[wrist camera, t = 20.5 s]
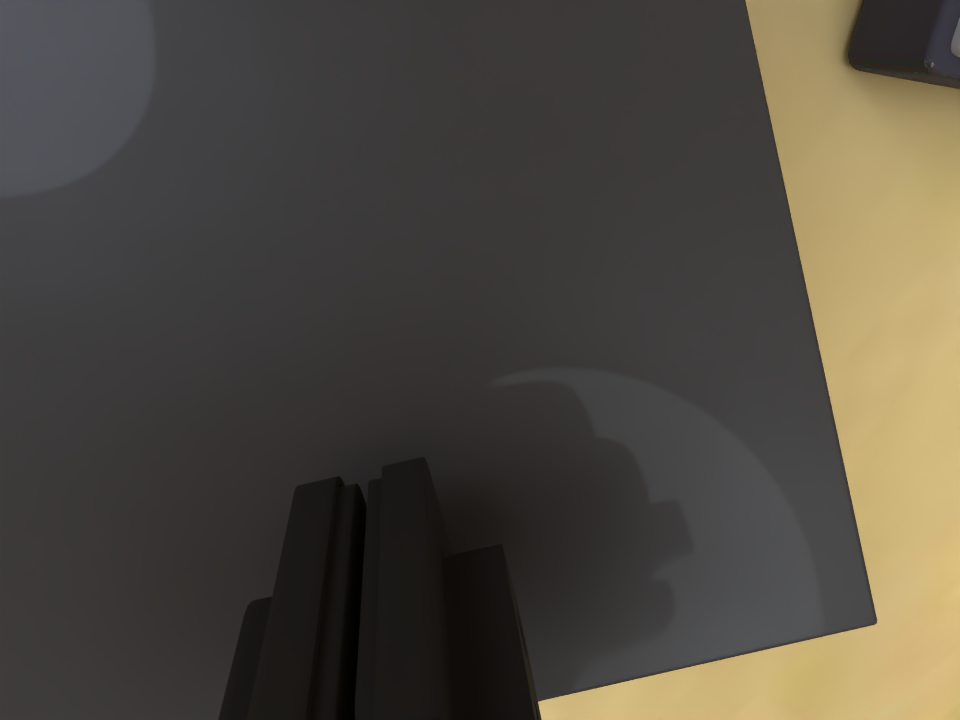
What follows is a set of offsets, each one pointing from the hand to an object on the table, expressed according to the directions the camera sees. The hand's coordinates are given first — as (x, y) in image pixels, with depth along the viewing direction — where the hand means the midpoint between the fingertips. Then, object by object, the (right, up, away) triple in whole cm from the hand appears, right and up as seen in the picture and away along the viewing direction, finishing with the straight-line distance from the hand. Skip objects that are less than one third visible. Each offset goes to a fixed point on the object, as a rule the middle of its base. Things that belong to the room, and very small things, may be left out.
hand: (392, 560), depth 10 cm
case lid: (-1, +5, +1) cm, 6 cm away
